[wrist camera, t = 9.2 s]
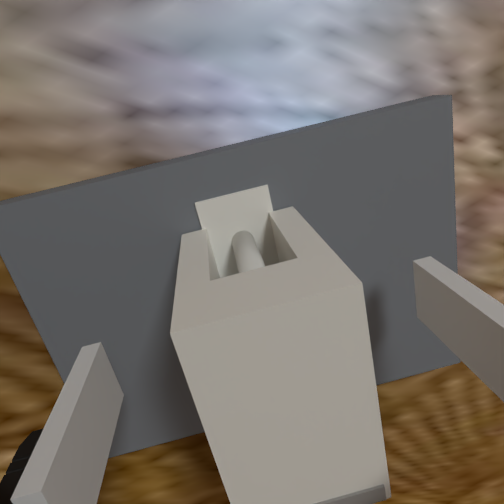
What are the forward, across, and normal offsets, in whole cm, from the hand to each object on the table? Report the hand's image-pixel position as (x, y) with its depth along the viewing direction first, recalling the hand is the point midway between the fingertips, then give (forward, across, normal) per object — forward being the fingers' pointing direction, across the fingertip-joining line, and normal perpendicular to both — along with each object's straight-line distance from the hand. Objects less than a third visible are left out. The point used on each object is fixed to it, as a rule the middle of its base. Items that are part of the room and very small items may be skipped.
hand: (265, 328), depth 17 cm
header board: (+4, 0, 0) cm, 4 cm away
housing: (+3, 0, 0) cm, 3 cm away
